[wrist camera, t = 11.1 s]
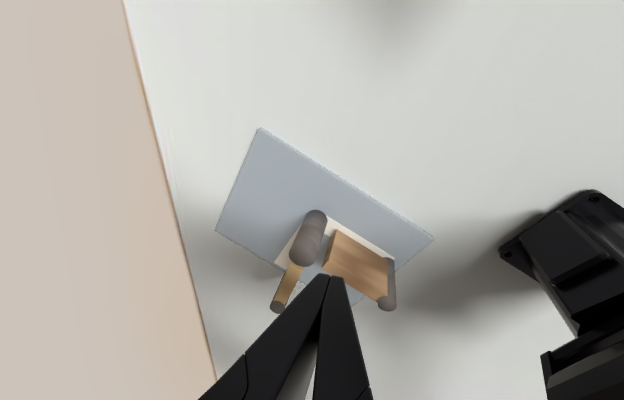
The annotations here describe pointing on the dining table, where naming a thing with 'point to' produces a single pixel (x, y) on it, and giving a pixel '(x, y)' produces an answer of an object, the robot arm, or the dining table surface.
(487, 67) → the dining table surface
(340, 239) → the fixed fence
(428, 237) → the card
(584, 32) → the dining table surface
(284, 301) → the fence panel
